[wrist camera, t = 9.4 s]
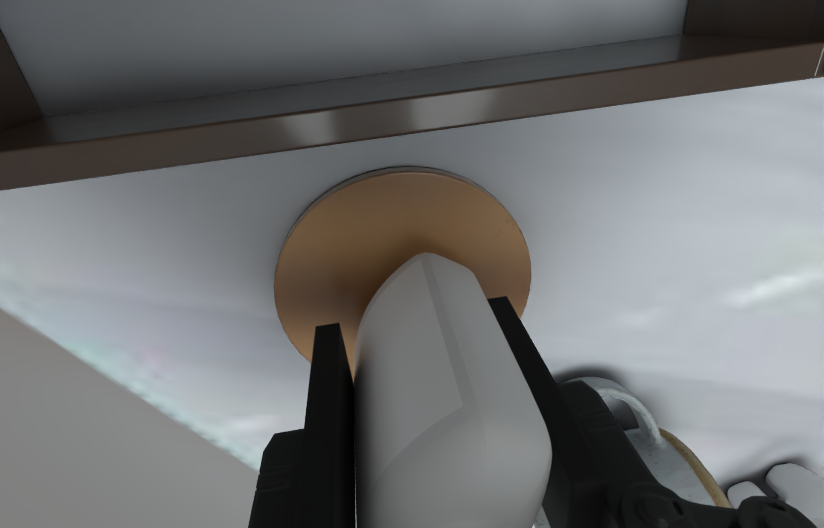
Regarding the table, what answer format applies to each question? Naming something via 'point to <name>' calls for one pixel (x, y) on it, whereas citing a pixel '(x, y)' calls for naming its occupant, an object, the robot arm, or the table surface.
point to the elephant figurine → (788, 491)
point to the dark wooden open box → (411, 96)
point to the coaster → (391, 247)
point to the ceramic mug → (659, 453)
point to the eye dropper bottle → (443, 408)
